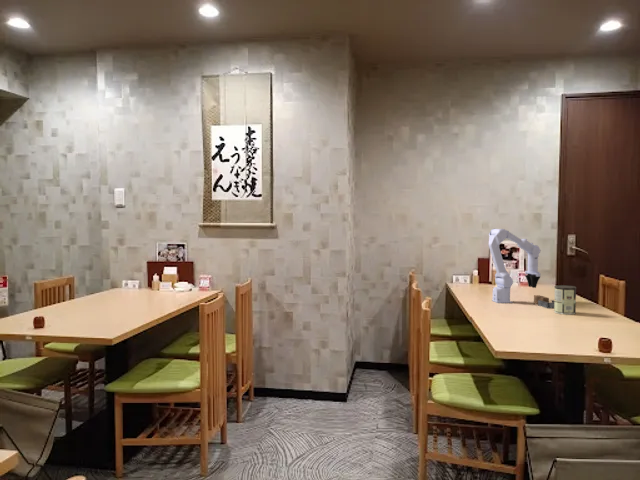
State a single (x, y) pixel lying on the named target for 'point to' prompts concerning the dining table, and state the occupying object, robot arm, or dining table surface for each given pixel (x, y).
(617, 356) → the dining table surface
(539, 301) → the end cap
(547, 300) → the brown rectangular block
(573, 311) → the coffee can
